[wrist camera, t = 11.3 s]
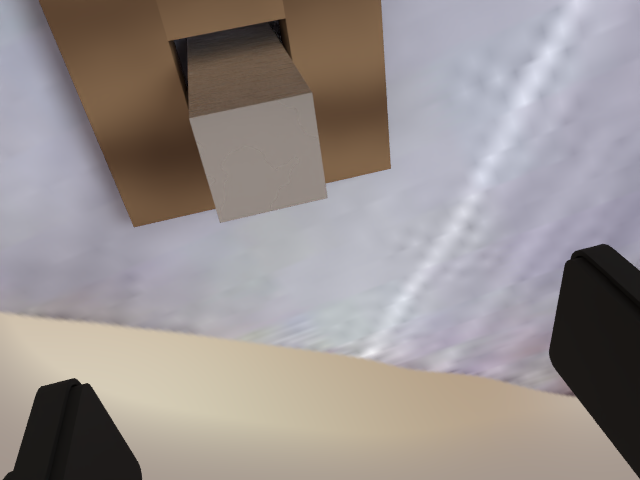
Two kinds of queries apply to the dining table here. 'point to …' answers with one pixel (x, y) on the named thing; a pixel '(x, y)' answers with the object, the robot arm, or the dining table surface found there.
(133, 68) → the walnut bore plate
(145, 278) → the dining table surface
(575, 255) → the robot arm
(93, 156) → the dining table surface
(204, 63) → the steel square peg
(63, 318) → the dining table surface
